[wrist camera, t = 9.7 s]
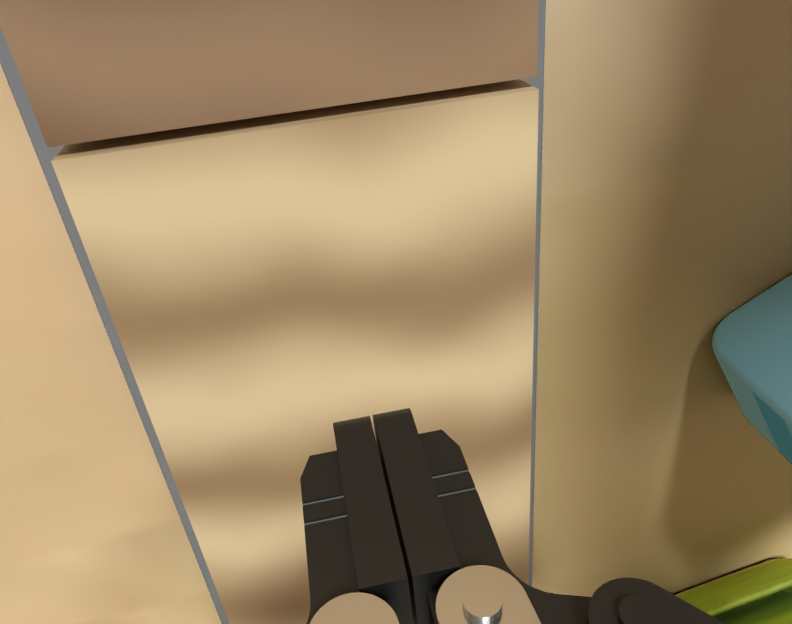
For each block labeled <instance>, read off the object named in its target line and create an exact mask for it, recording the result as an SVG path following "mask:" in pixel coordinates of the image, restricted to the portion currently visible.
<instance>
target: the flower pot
mask: <svg viewBox="0 0 792 624" xmlns="http://www.w3.org/2000/svg"><path fill="white" fill-rule="evenodd" d="M675 596H677V597H679V598H681V599H682V600H684V601H686V602H688V603H689V604H691V605H693V606H695V607H697V608H698V609H700V610H702V611H704V612H706V613H707V614H709V615H711V616H713V617H714V618H716V619H718V620H720V621H722V622H723V623H725V624H792V559H783V558H781V559H774V558H771V559H768V560H766V561H764V562H763V563H760V564H757V565H754V566H751V567H749V568H746V569H743V570H740V571H738V572H735V573H732V574H729V575H726V576H724V577H721V578H718V579H716V580H713V581H710V582H708V583H705V584H702V585H700V586H697V587H694V588H692V589H689V590H687V591H684V592H681V593H679V594H676V595H675Z"/></svg>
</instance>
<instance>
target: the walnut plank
mask: <svg viewBox="0 0 792 624" xmlns="http://www.w3.org/2000/svg"><path fill="white" fill-rule="evenodd" d="M538 25H539V0H0V26H1V28H2V31H3V34H4V36H5V39H6V41H7V44H8V47H9V49H10V52H11V54H12V57H13V60H14V62H15V65H16V67H17V70H18V73H19V75H20V78H21V80H22V83H23V86H24V88H25V91H26V93H27V96H28V99H29V101H30V104H31V106H32V109H33V112H34V114H35V117H36V119H37V122H38V125H39V127H40V130H41V132H42V135H43V138H44V140H45V143H46V145H47V148H48V147H55V146H62V145H69V144H76V143H83V142H90V141H97V140H104V139H110V138H117V137H124V136H131V135H138V134H145V133H152V132H159V131H166V130H172V129H179V128H186V127H193V126H200V125H207V124H214V123H221V122H228V121H235V120H241V119H248V118H255V117H262V116H269V115H276V114H283V113H290V112H297V111H303V110H310V109H317V108H324V107H331V106H338V105H345V104H352V103H359V102H365V101H372V100H379V99H386V98H393V97H400V96H407V95H414V94H421V93H427V92H434V91H441V90H448V89H455V88H462V87H469V86H476V85H483V84H490V83H496V82H503V81H510V80H517V79H524V78H531V77H538Z"/></svg>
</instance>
